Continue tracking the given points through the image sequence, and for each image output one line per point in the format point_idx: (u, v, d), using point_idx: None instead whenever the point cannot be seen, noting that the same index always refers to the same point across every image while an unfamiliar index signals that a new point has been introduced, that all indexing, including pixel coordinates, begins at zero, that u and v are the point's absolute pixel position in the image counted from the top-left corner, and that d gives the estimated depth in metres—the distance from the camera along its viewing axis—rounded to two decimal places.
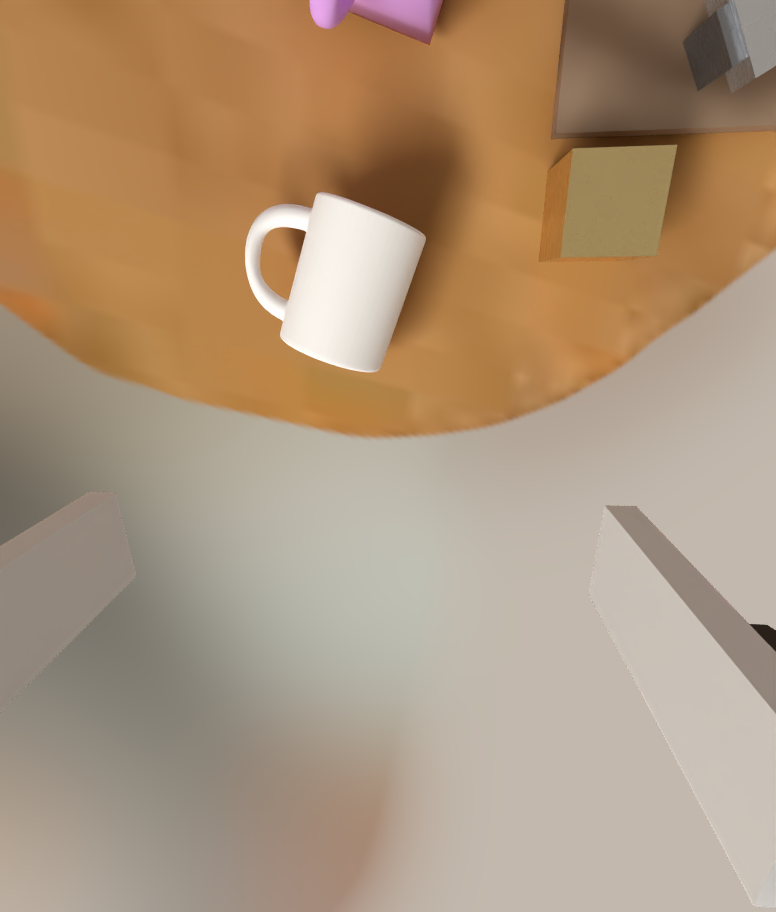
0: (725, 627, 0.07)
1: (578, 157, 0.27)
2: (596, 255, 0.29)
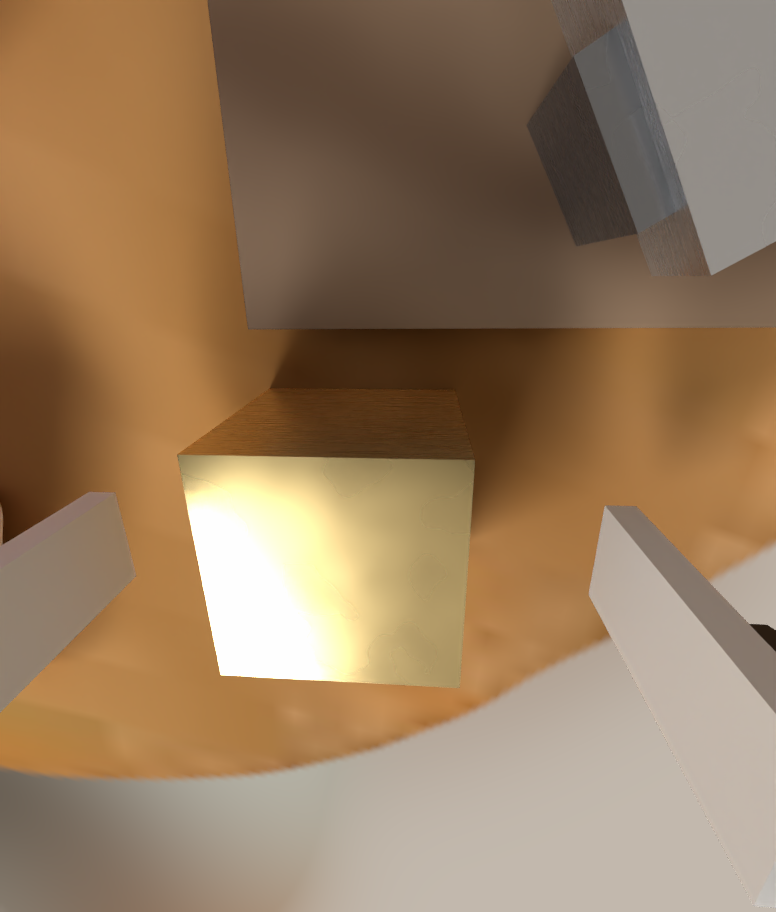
0: (725, 627, 0.07)
1: (199, 476, 0.09)
2: (308, 677, 0.11)
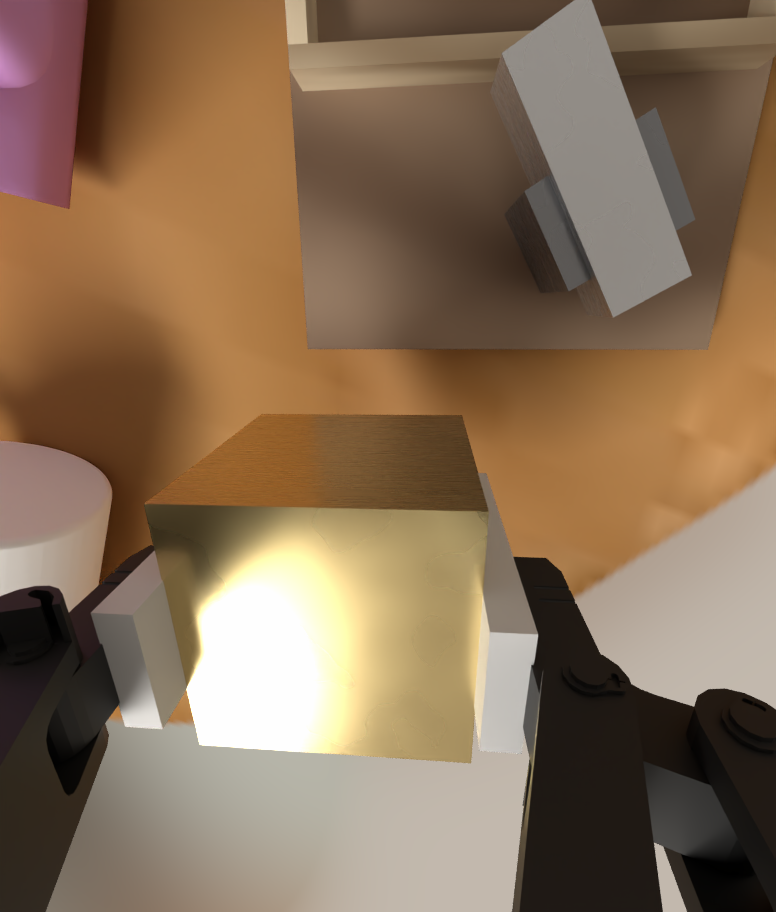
0: (491, 553, 0.09)
1: (169, 528, 0.08)
2: (298, 748, 0.10)
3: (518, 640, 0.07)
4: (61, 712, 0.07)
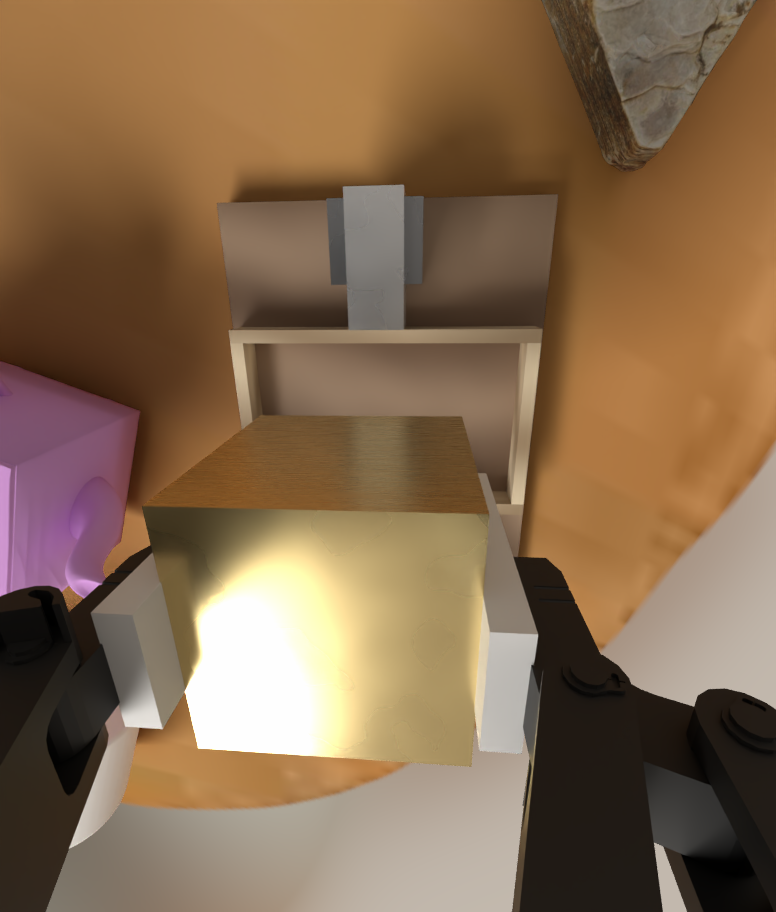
0: (491, 553, 0.09)
1: (167, 530, 0.08)
2: (298, 751, 0.10)
3: (518, 640, 0.07)
4: (61, 712, 0.07)
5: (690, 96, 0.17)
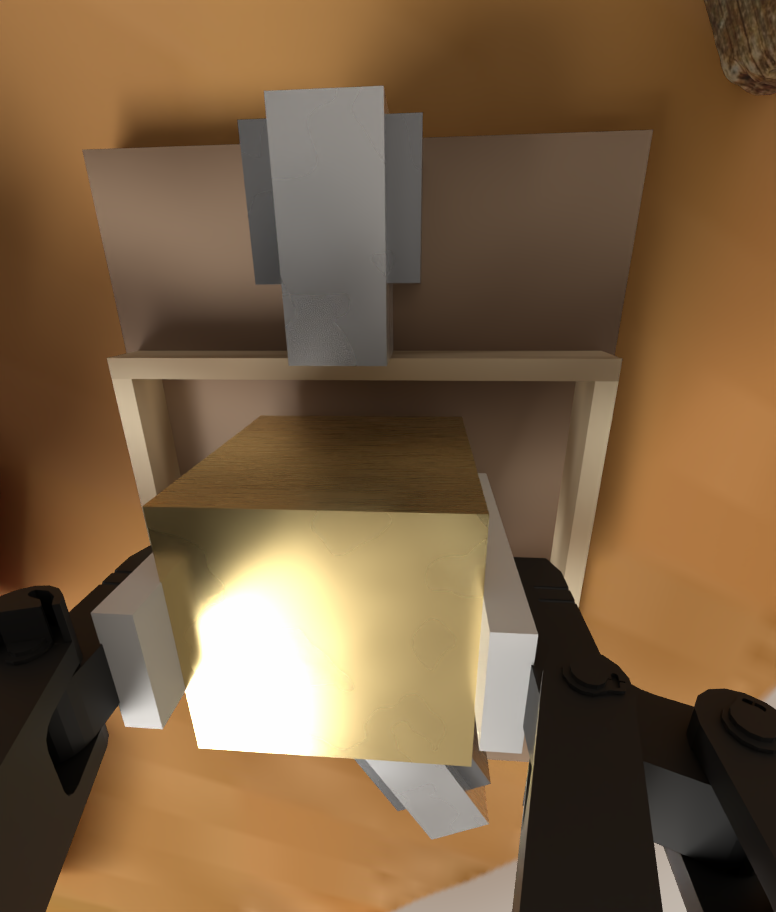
0: (491, 553, 0.09)
1: (168, 531, 0.08)
2: (298, 752, 0.10)
3: (518, 640, 0.07)
4: (61, 712, 0.07)
5: None
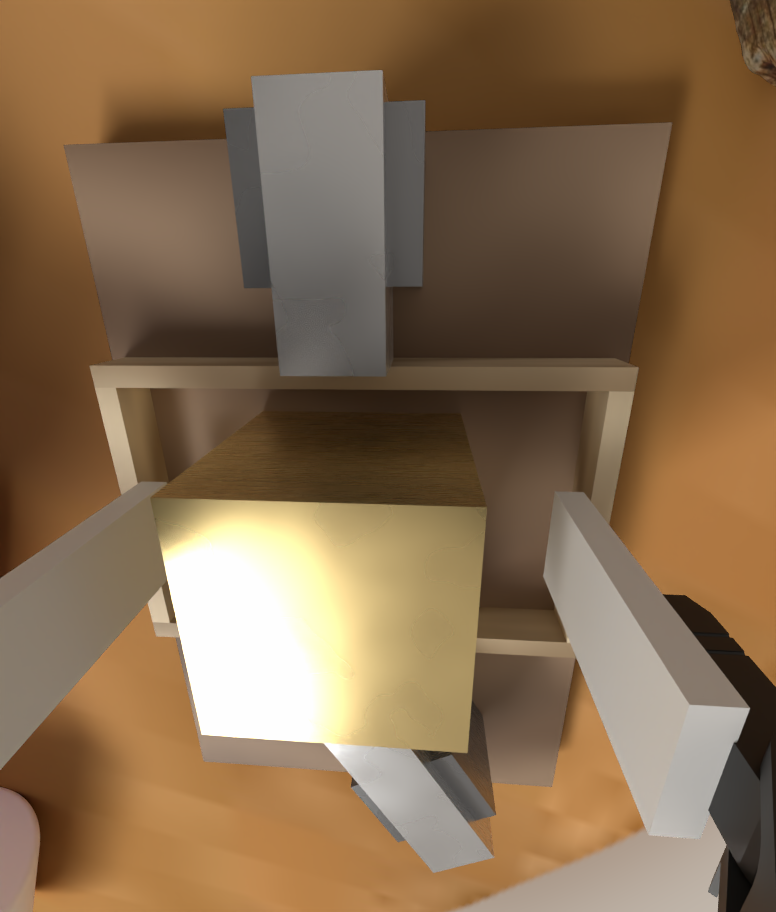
0: (638, 594, 0.08)
1: (174, 522, 0.08)
2: (299, 738, 0.10)
3: (722, 714, 0.06)
4: None
5: None
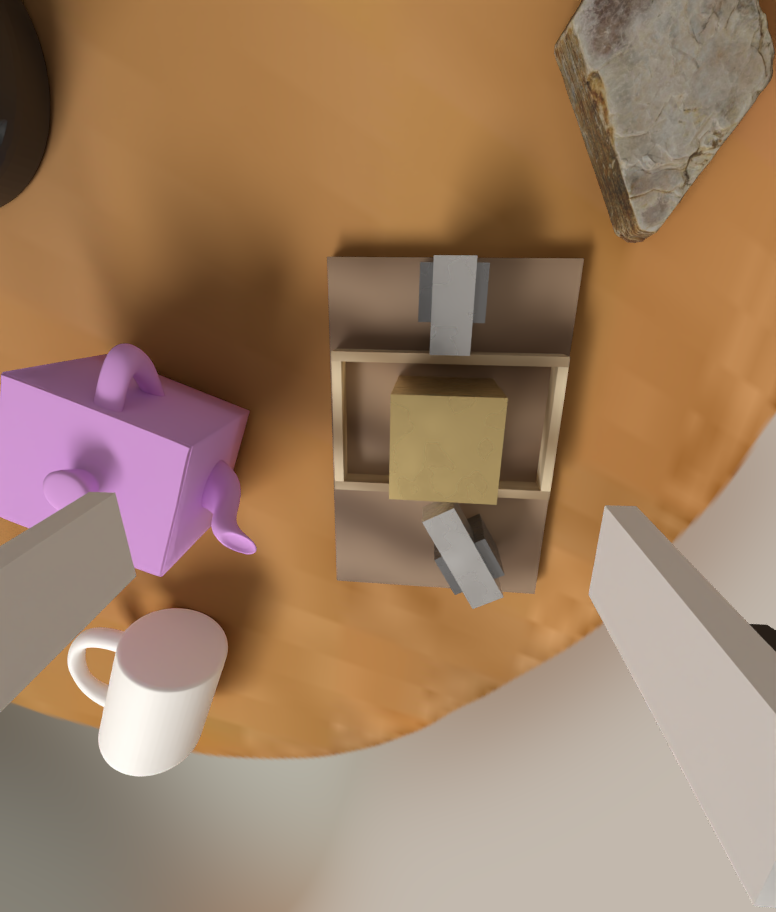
0: (725, 627, 0.07)
1: (397, 403, 0.23)
2: (429, 499, 0.25)
3: None
4: None
5: (677, 198, 0.23)
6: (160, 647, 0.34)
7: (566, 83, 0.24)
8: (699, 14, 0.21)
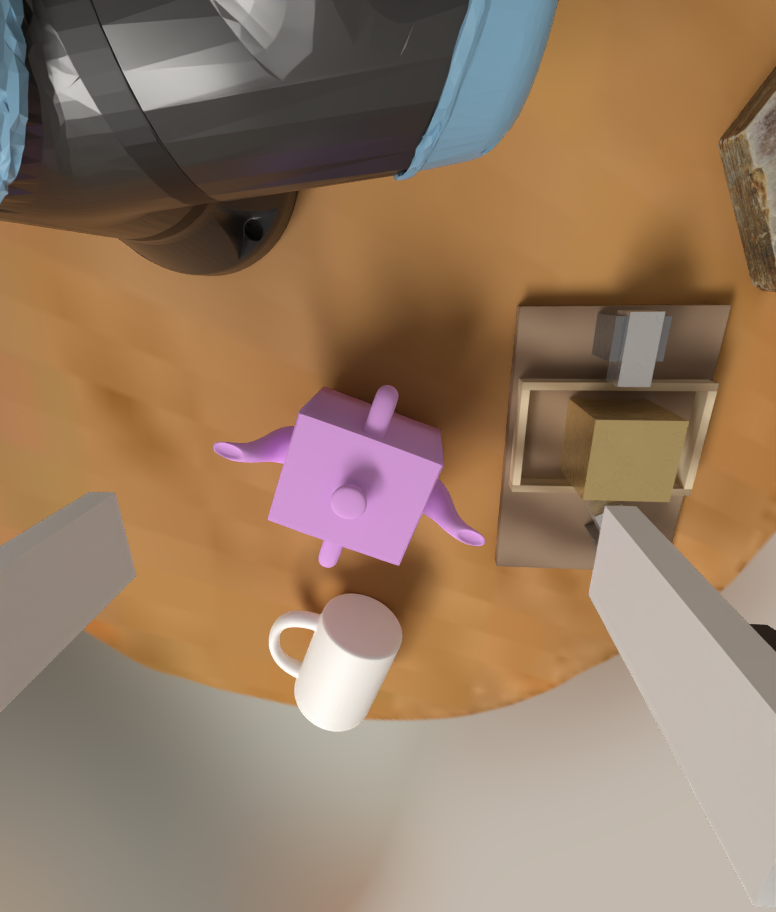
0: (725, 627, 0.07)
1: (600, 426, 0.30)
2: (615, 499, 0.32)
3: None
4: None
5: None
6: (354, 625, 0.41)
7: (726, 169, 0.30)
8: None
